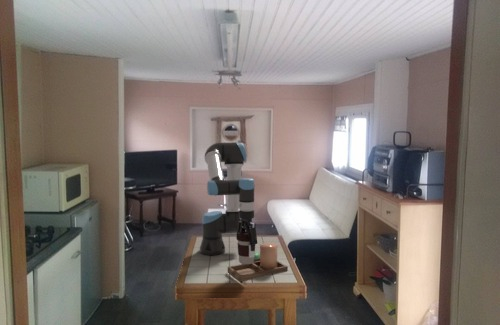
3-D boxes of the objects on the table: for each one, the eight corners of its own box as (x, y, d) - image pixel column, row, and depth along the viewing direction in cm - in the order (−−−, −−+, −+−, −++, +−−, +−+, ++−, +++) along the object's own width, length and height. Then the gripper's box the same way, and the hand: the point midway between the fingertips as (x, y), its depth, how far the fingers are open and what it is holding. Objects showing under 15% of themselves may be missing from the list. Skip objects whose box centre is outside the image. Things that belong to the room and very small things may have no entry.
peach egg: (256, 266, 200) (256, 244, 199) (271, 263, 204) (271, 241, 203) (265, 272, 192) (265, 249, 191) (280, 269, 197) (281, 246, 195)
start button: (249, 259, 209) (249, 253, 209) (256, 257, 211) (256, 252, 211) (253, 261, 205) (253, 256, 205) (261, 260, 207) (261, 254, 207)
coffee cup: (239, 266, 185) (239, 236, 184) (234, 259, 195) (234, 230, 193) (258, 264, 188) (259, 234, 186) (253, 258, 197) (253, 229, 196)
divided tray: (227, 273, 195) (227, 266, 194) (272, 263, 208) (272, 258, 208) (240, 282, 183) (240, 276, 182) (287, 272, 196) (287, 266, 195)
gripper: (229, 206, 197) (229, 248, 199) (251, 215, 177) (251, 262, 179) (242, 205, 201) (242, 246, 203) (265, 213, 181) (264, 259, 183)
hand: (246, 254), depth 191 cm, fingers closed on coffee cup, 10 cm apart
